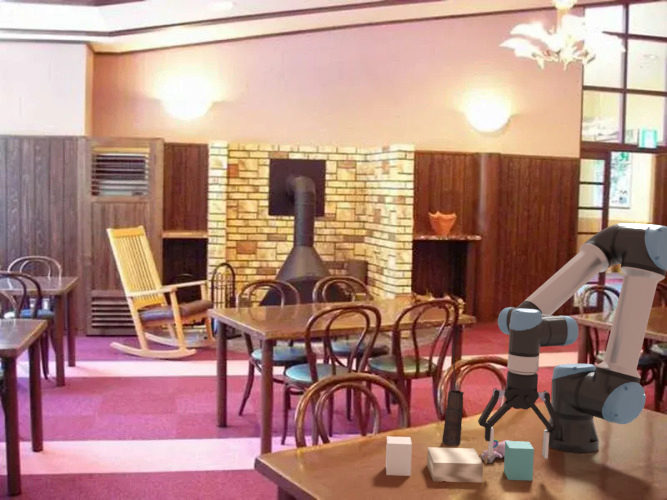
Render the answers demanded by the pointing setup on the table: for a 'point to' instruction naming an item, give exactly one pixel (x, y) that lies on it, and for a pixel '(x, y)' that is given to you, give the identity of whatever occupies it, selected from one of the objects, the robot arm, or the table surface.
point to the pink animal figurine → (494, 451)
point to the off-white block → (398, 456)
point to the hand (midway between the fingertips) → (517, 455)
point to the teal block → (518, 460)
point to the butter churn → (453, 414)
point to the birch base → (454, 464)
